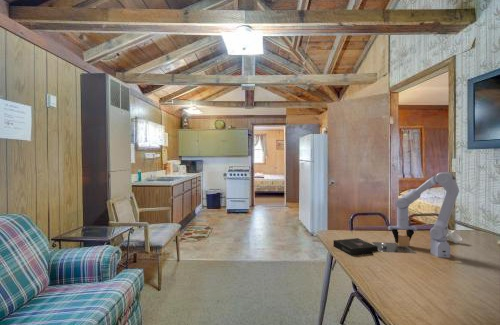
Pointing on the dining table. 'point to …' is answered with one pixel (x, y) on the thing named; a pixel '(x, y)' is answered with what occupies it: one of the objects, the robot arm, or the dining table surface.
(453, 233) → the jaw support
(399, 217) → the robot arm
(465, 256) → the dining table surface
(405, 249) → the base plate
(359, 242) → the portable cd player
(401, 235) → the tan wooden block
